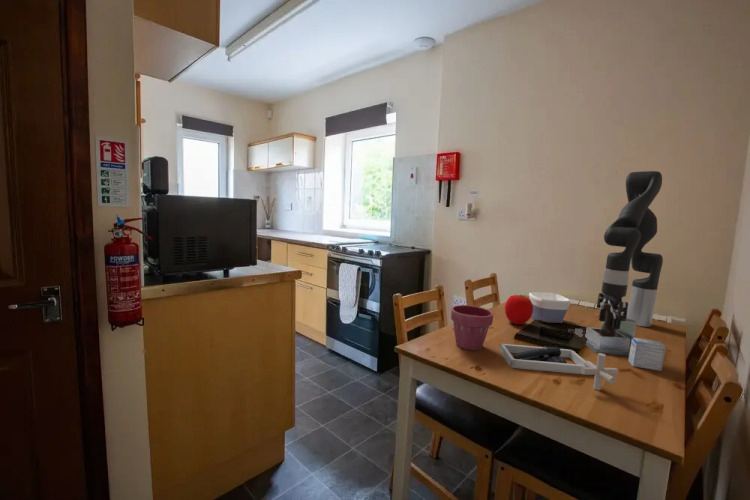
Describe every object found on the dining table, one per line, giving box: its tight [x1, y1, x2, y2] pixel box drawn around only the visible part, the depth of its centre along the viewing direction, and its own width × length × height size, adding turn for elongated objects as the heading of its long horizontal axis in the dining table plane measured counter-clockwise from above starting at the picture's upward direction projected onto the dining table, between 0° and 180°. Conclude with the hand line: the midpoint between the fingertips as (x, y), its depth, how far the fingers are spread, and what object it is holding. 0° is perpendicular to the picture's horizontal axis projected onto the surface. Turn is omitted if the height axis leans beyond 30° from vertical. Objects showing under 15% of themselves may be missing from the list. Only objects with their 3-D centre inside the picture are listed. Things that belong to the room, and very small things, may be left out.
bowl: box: [528, 291, 571, 324], centre depth 158 cm, size 15×15×11 cm
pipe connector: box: [580, 353, 619, 391], centre depth 97 cm, size 10×10×10 cm
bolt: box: [600, 303, 618, 337], centre depth 128 cm, size 6×5×15 cm
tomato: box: [504, 294, 533, 326], centre depth 150 cm, size 11×11×13 cm
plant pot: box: [450, 304, 494, 351], centre depth 123 cm, size 14×14×13 cm
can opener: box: [512, 345, 568, 364], centre depth 111 cm, size 18×7×6 cm, turn 101°
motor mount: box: [574, 318, 637, 357], centre depth 133 cm, size 22×22×10 cm
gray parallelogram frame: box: [499, 343, 590, 376], centre depth 113 cm, size 13×24×2 cm, turn 85°
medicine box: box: [628, 337, 666, 372], centre depth 114 cm, size 8×4×9 cm, turn 71°
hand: (608, 324), depth 129 cm, fingers open, 8 cm apart
